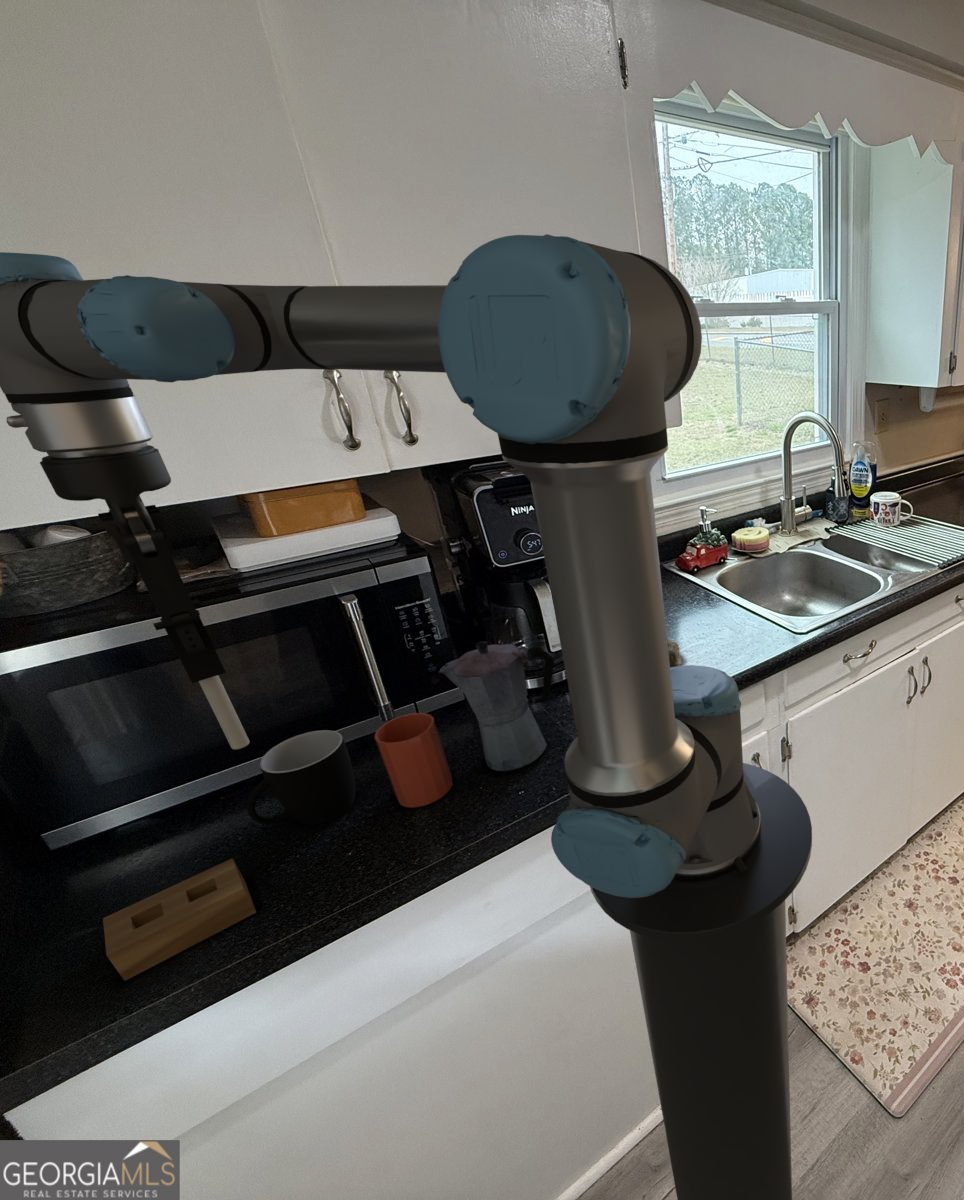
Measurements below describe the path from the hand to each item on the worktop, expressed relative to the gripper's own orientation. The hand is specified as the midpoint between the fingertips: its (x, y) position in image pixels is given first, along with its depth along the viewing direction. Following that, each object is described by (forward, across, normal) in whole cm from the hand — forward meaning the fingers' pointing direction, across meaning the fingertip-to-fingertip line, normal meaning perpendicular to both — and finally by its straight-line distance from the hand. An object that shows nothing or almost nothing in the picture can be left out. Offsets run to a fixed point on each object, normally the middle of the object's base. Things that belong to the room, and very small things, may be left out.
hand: (206, 672), depth 65 cm
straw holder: (+28, +1, -10) cm, 30 cm away
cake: (+28, -6, +60) cm, 66 cm away
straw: (+9, 0, 0) cm, 9 cm away
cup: (+28, -2, +16) cm, 32 cm away
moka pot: (+28, 0, +29) cm, 40 cm away
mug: (+28, -9, +4) cm, 30 cm away
